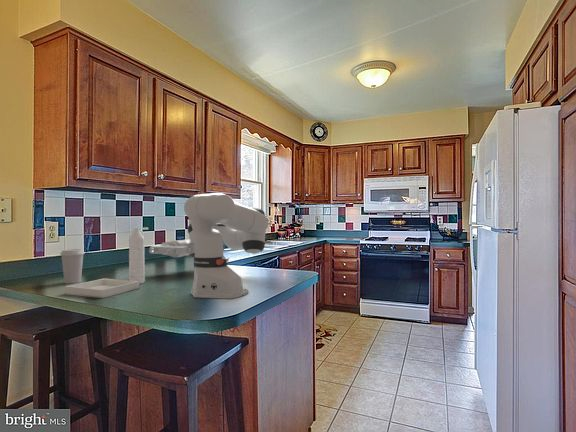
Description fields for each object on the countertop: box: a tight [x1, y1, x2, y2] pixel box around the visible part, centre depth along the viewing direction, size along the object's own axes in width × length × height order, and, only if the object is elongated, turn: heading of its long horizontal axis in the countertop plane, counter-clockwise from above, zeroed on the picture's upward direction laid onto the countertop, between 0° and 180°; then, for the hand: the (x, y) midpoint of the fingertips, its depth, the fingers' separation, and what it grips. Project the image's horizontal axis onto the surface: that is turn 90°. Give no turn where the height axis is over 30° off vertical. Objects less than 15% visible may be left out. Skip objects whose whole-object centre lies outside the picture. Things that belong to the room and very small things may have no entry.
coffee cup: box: [59, 248, 86, 285], centre depth 160 cm, size 10×10×15 cm
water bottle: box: [128, 226, 149, 285], centre depth 158 cm, size 9×6×25 cm
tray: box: [64, 278, 140, 299], centre depth 141 cm, size 20×18×3 cm
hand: (157, 251), depth 169 cm, fingers open, 8 cm apart
